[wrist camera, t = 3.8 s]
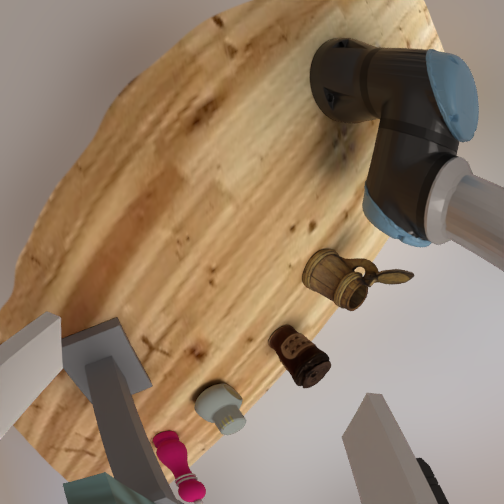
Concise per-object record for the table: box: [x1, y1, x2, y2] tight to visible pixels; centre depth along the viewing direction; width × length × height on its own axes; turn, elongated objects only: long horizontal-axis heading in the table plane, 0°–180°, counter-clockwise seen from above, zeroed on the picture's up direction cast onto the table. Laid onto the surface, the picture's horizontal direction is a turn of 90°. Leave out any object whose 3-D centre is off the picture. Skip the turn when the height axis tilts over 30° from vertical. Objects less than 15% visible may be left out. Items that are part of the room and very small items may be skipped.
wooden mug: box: [303, 249, 414, 311], centre depth 56 cm, size 9×14×18 cm, turn 138°
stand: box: [61, 318, 184, 504], centre depth 35 cm, size 16×12×28 cm
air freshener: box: [195, 384, 246, 435], centre depth 60 cm, size 11×8×10 cm
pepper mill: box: [153, 431, 206, 504], centre depth 55 cm, size 7×7×20 cm
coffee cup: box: [269, 325, 331, 388], centre depth 61 cm, size 9×8×13 cm
